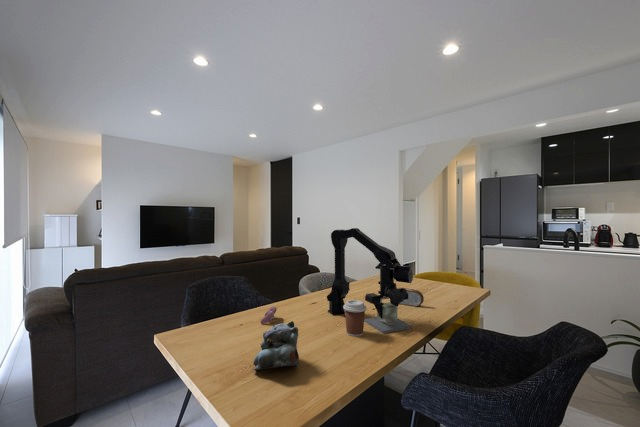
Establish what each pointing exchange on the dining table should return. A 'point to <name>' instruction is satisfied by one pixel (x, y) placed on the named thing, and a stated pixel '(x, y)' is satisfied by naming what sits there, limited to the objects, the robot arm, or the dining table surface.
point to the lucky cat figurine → (278, 347)
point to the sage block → (388, 313)
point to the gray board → (387, 325)
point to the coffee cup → (354, 317)
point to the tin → (413, 298)
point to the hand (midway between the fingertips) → (387, 316)
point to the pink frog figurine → (269, 315)
